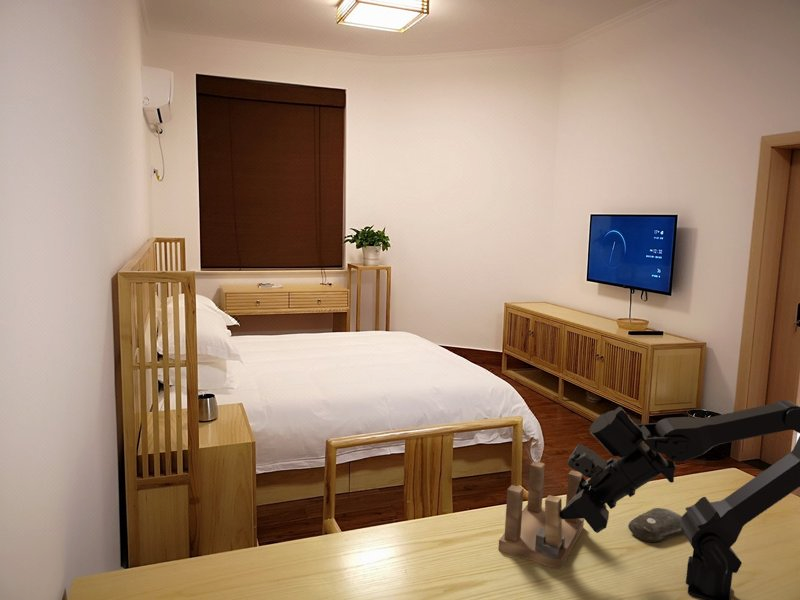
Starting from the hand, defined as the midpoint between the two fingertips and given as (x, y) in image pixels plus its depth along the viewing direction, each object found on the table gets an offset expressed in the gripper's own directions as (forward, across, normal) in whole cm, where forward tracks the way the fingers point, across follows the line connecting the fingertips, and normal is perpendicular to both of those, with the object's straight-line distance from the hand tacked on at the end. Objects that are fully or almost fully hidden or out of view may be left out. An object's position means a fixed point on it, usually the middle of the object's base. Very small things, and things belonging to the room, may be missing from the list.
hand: (560, 516), depth 110 cm
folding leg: (+5, 0, +4) cm, 6 cm away
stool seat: (+9, -7, +3) cm, 12 cm away
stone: (-5, -22, +18) cm, 29 cm away
